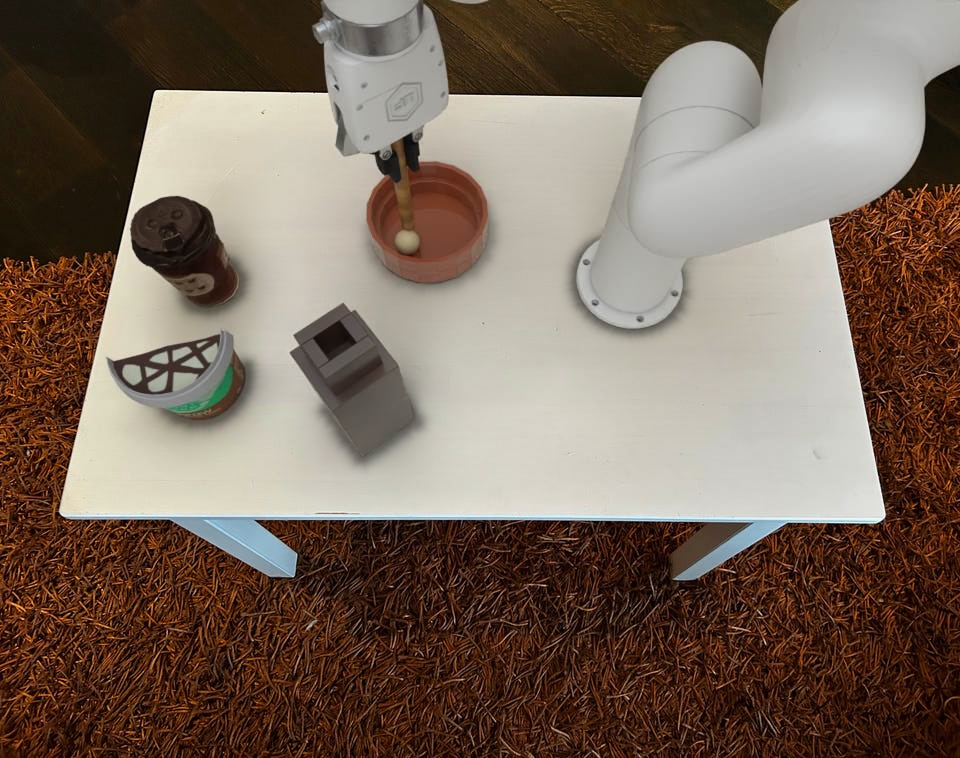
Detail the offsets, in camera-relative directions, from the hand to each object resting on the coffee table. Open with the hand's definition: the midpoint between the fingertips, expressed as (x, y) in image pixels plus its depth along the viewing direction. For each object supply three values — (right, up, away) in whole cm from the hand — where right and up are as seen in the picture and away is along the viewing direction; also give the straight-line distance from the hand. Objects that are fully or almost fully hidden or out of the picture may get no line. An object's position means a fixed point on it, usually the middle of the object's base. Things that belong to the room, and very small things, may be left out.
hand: (399, 167), depth 67 cm
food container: (-22, -25, +6) cm, 34 cm away
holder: (-4, -26, +5) cm, 27 cm away
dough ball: (0, -6, +11) cm, 12 cm away
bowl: (+2, -4, +13) cm, 14 cm away
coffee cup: (-24, -11, +11) cm, 28 cm away
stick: (0, -4, +10) cm, 11 cm away
